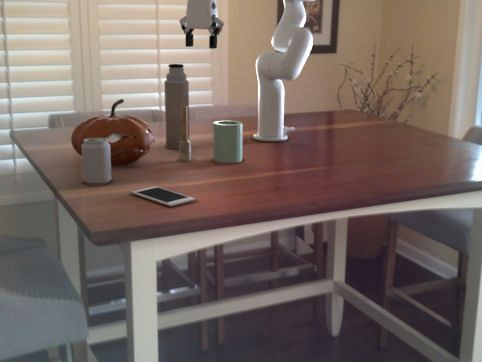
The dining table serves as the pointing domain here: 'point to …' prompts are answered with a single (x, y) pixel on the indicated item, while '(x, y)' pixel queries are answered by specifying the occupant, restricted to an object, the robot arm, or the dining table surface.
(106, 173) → the can
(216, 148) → the sage green cup
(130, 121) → the pumpkin
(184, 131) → the brush
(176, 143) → the thermos bottle
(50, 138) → the dining table surface
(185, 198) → the cell phone
